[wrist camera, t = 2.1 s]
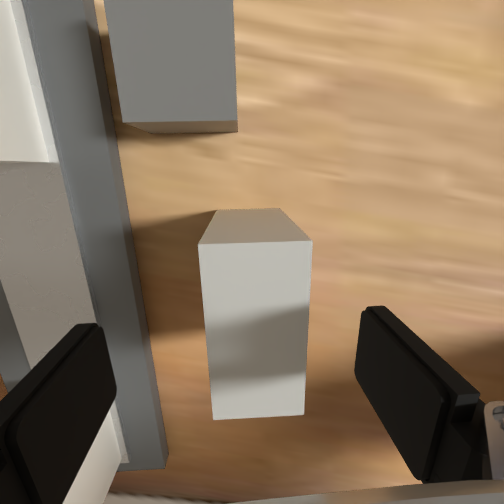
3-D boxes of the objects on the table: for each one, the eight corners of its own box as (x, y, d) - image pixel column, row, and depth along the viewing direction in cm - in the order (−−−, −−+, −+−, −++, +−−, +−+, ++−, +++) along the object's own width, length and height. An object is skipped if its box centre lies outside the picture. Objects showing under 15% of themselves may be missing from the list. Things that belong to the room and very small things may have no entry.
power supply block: (234, 29, 14) (232, -24, 10) (238, 132, 15) (237, 120, 12) (139, 30, 14) (99, -24, 10) (152, 133, 15) (122, 122, 11)
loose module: (279, 208, 17) (312, 240, 9) (278, 317, 19) (303, 414, 12) (214, 209, 17) (193, 244, 9) (221, 319, 19) (209, 420, 11)
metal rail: (17, -40, 12) (10, -47, 11) (131, 457, 21) (129, 462, 21) (-101, -41, 11) (-112, -48, 11) (67, 461, 21) (64, 466, 21)
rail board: (83, -62, 12) (67, -85, 11) (168, 453, 23) (164, 468, 22) (-139, -64, 12) (-179, -88, 11) (50, 460, 22) (40, 476, 21)
